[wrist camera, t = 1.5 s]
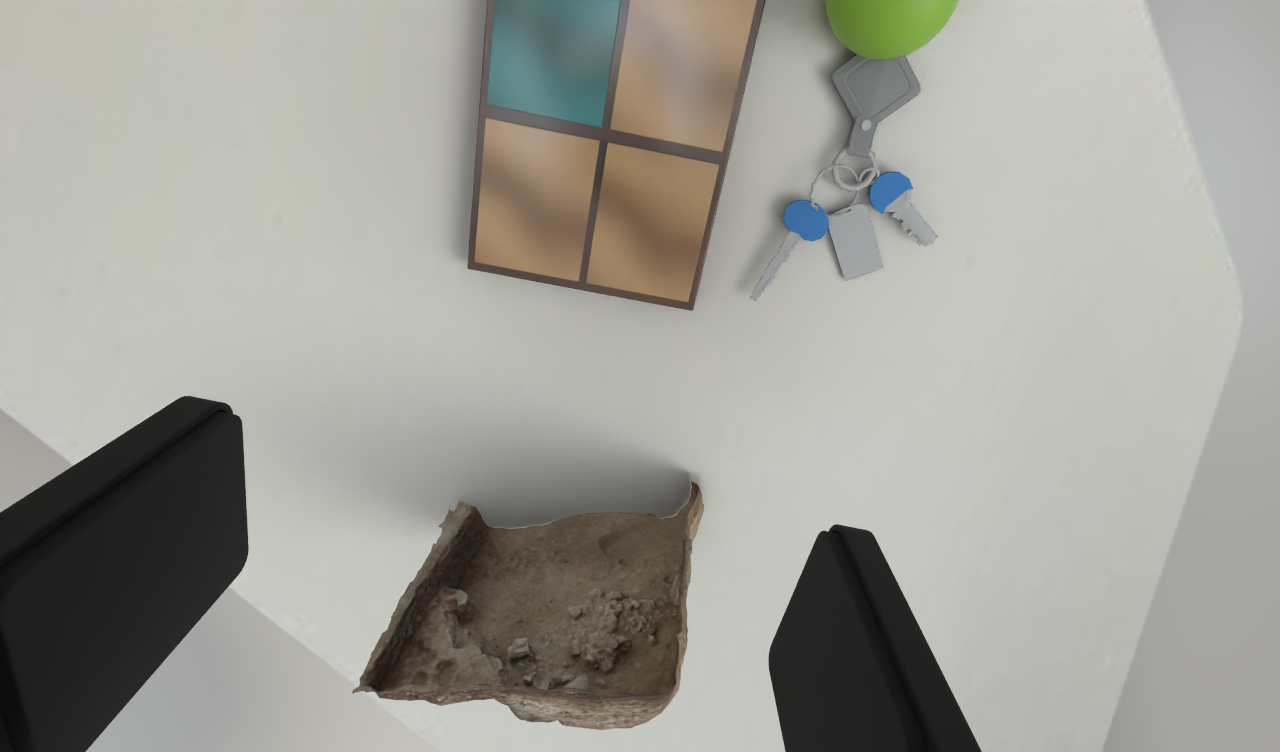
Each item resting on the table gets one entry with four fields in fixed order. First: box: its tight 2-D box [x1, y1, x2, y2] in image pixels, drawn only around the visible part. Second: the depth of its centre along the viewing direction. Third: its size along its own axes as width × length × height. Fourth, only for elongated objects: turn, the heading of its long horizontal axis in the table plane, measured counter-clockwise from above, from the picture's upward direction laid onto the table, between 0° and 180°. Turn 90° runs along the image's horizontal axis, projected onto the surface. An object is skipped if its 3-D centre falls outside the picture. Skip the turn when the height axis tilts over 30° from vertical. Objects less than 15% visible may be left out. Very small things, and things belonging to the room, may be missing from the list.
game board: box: [467, 0, 765, 311], centre depth 31 cm, size 16×12×1 cm
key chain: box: [750, 55, 938, 301], centre depth 32 cm, size 14×8×1 cm, turn 163°
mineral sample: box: [352, 475, 704, 730], centre depth 34 cm, size 17×4×15 cm, turn 97°
